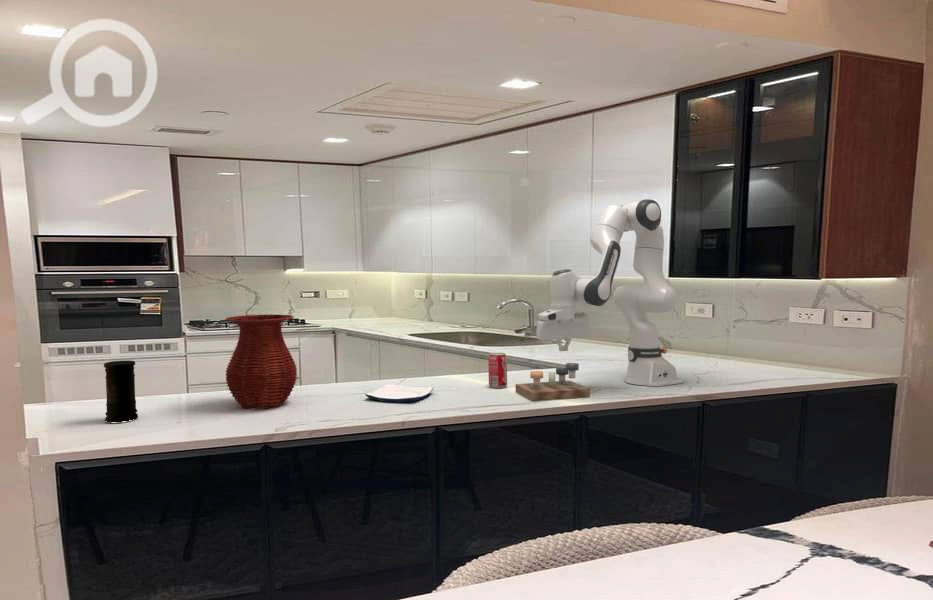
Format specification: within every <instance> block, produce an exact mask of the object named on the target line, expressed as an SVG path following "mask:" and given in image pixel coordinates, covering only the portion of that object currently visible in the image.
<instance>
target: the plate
mask: <svg viewBox="0 0 933 600" xmlns="http://www.w3.org/2000/svg"><path fill="white" fill-rule="evenodd" d="M434 388H435V387H434V386H426V387H425V386H424V387H418V386H403V385H397V384H392V383H388V384H386V385H384V386H381V387H380V388H379V389H375V390H373V391H370V392H368V393H365V396H366V397H367V398H369V399H373V400H377V401H380V400H381V401H382V402H387V401H389V402H388V403H411V402H416V401H419V400H421V399H424V398H425V397H427V396H429V395H431V392H433V390H434ZM381 401H380V402H381Z"/></svg>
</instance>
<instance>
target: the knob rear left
mask: <svg viewBox="0 0 933 600" xmlns="http://www.w3.org/2000/svg"><path fill="white" fill-rule="evenodd" d="M579 365H580V364H579V363H577V362H568V363H567V362H566V363H565V368H566V370H568V379H576V374H577V373H576V371H579V367H580V366H579Z"/></svg>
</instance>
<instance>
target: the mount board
mask: <svg viewBox="0 0 933 600" xmlns="http://www.w3.org/2000/svg"><path fill="white" fill-rule="evenodd" d="M515 393H516V394H517V395H520V396H522V397H523V396H524V397H523V398H525V399H527V400H529V401H531V402H543V401H545V402H546V401H556V400H559V401H560V400H570V399H571V400H572V399H581V398H583V399H584V398H590V397H591V388H589V387H587V386H584V385H582V384H579V383H577V382H574V381H572V380H565V382H559V380H557V381H556V380H555V387H549V381H544V382H542V381H540V386H539V387H535V386H533V382H529V383H527V382H525V383H515Z"/></svg>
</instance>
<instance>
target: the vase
mask: <svg viewBox="0 0 933 600" xmlns="http://www.w3.org/2000/svg"><path fill="white" fill-rule="evenodd" d="M293 318H295V316H294V315H289V314H250V315H236V316H230V317H226V318H224V320H225V321H228V322H232V323H233V322H234V323H236V324H238V325H239V326H238V328H239V331H238V332H239V335H238V339H237V342H236V345H235V347H234V351H232V354H231V355H232V356H231V357H230V359H229V362H228V364H227V366H226V370H225V381H226V383H225V384H226V387H227V388H228V391H229V392H230V394H231V395H232V396H231V397H233V398H234V400H235V402H236V403H237V404H238V405H240V407H241V408H246V409H252V408H255V409H268V407H269V408H274V407H273V406H275V407H279V406H281V405H283V404H285V403H286V401H287V400H288V399H289V397H290V395H291V394H292V392H293V391H294V390H293V389H294V388H295V386H294V385H296V384H297V382H296V381H297V378H298V370H297V369H298V368H297V365H296V362H295V359H294V358H293V355H292V353H290V352H291V351H290V349H289V348H288V346H287V344H286V341H285V339H284V336H283V332H282V331H283V330H282V322H284V321H286V320H291V319H293ZM284 402H285V403H284ZM282 403H283V404H282ZM280 404H281V405H280ZM278 405H279V406H278ZM252 410H253V409H252Z"/></svg>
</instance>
